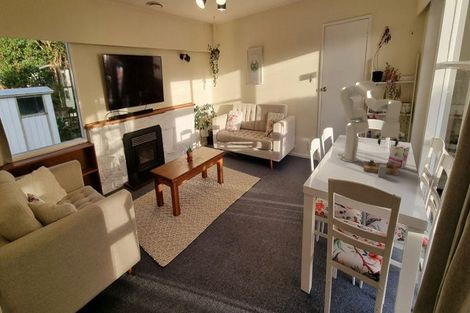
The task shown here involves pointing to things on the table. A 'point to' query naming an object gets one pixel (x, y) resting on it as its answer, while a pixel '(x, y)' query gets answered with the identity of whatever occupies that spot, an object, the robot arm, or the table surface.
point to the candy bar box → (398, 155)
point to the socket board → (374, 167)
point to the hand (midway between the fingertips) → (387, 145)
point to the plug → (382, 171)
